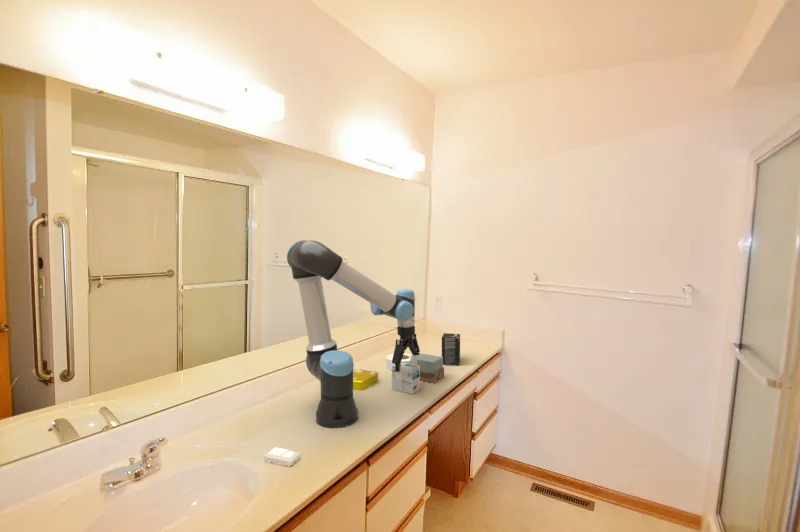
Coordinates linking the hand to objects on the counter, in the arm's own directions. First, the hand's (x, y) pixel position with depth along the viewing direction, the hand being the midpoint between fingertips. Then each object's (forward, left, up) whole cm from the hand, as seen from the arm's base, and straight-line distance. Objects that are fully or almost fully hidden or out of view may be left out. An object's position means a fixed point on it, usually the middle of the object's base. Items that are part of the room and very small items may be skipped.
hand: (406, 374), depth 175 cm
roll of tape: (+26, +18, -7) cm, 32 cm away
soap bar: (-68, +3, -7) cm, 69 cm away
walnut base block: (+17, -1, -7) cm, 19 cm away
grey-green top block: (+18, -1, -2) cm, 18 cm away
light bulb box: (0, 0, -7) cm, 7 cm away
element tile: (-4, +23, -7) cm, 25 cm away
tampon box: (+47, -1, -7) cm, 47 cm away
